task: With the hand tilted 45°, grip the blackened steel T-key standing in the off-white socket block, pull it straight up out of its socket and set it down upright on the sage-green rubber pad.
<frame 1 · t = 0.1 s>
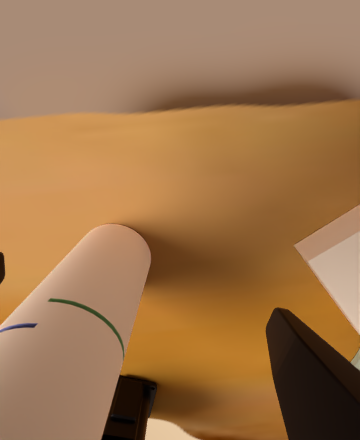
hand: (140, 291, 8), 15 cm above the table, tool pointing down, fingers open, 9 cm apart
cylindrical container: (116, 255, 25), on the table
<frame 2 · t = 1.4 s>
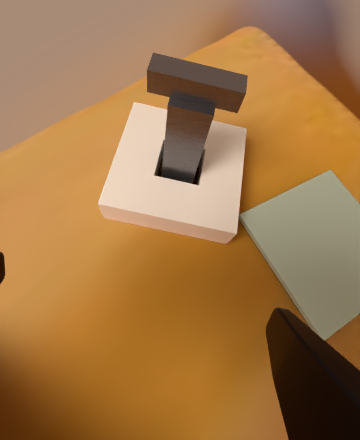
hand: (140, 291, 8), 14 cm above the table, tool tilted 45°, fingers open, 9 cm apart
t key: (185, 140, 20), in the socket block
socket block: (177, 178, 26), on the table
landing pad: (323, 244, 25), on the table
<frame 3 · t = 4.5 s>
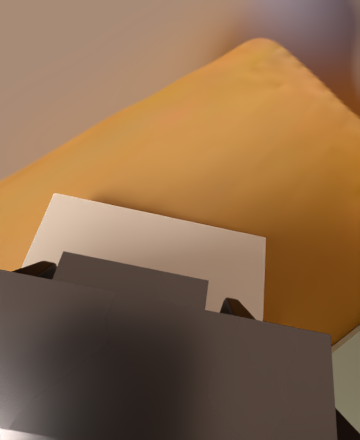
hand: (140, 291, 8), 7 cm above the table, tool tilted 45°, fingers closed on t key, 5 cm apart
t key: (131, 335, 8), in the socket block, touching gripper
socket block: (138, 330, 14), on the table
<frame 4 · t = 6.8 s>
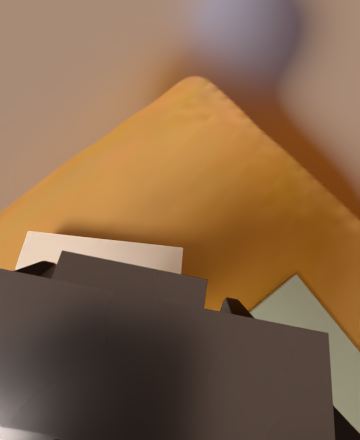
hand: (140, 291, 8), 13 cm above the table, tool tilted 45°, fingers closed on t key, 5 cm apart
t key: (131, 334, 9), point 12 cm above the table, touching gripper
socket block: (99, 321, 20), on the table
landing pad: (293, 390, 19), on the table
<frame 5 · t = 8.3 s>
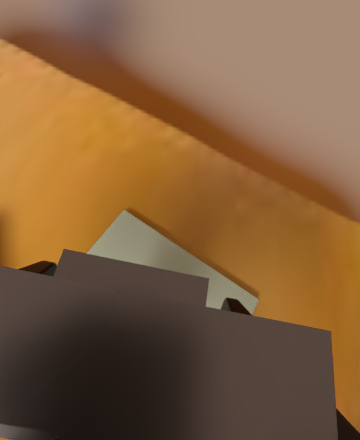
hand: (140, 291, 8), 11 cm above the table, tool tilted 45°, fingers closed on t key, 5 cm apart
t key: (132, 334, 9), point 10 cm above the table, touching gripper
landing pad: (140, 326, 18), on the table
when the fingers open (9 cm above the table, at t = 9.2 s): t key drops 1 cm, resting on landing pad.
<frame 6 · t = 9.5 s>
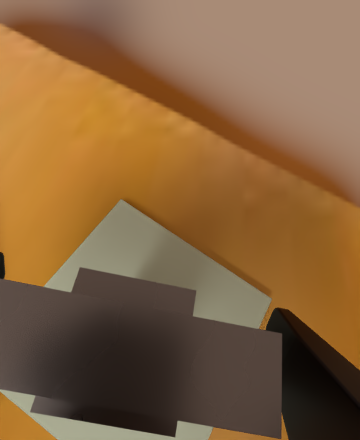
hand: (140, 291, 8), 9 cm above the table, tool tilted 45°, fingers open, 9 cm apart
t key: (133, 334, 10), on the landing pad, point 7 cm above the table
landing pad: (139, 329, 16), on the table
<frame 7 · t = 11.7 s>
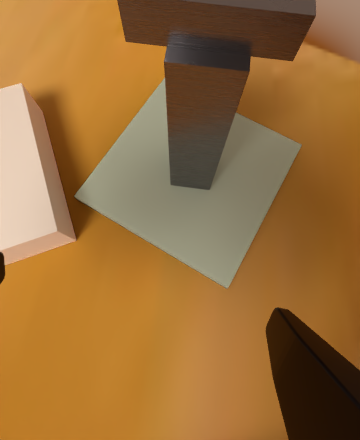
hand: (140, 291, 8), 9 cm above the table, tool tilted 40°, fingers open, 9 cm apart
t key: (199, 117, 13), on the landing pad, point 7 cm above the table
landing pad: (191, 173, 20), on the table
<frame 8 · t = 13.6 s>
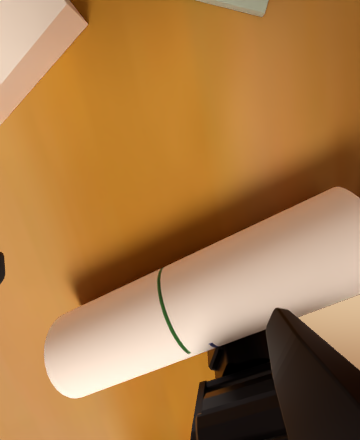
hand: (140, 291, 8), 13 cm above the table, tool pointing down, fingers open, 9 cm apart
cylindrical container: (76, 351, 22), point 4 cm above the table, touching arm
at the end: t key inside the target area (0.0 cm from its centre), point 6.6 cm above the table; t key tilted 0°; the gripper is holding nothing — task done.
